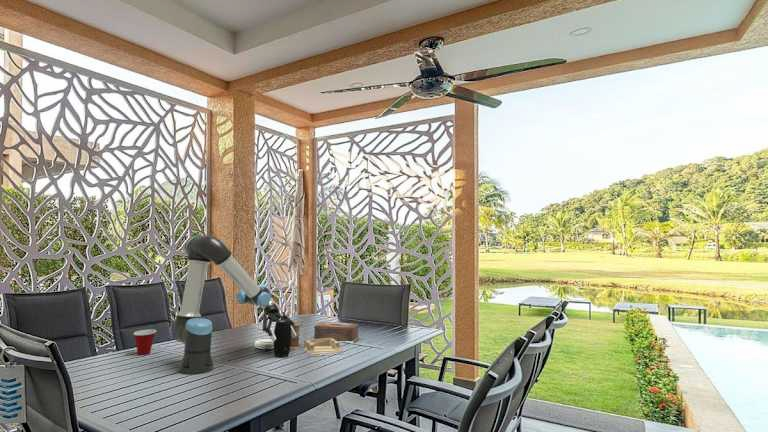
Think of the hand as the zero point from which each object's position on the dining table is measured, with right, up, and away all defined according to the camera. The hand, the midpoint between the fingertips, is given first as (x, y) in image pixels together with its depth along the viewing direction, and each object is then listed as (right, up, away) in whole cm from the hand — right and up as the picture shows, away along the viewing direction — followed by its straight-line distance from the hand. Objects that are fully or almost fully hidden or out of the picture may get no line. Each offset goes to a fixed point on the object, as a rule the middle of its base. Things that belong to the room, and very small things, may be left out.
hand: (285, 338), depth 227 cm
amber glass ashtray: (+19, -11, +13) cm, 25 cm away
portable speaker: (-2, -10, 0) cm, 10 cm away
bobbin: (+1, -11, +20) cm, 23 cm away
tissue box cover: (+23, -15, +45) cm, 52 cm away
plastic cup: (-76, -8, -3) cm, 76 cm away
